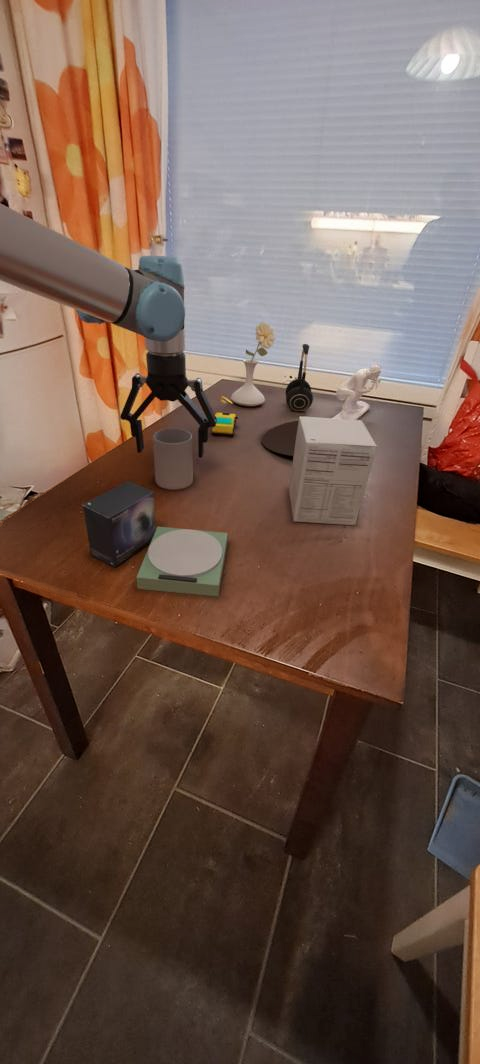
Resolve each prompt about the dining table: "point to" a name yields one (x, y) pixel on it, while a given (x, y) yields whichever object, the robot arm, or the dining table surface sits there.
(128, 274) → the robot arm
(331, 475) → the supplement box
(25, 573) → the dining table surface
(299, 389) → the headphones
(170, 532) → the scale
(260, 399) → the flower in vase
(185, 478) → the mug
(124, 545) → the small box
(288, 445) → the plate
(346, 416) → the figurine
